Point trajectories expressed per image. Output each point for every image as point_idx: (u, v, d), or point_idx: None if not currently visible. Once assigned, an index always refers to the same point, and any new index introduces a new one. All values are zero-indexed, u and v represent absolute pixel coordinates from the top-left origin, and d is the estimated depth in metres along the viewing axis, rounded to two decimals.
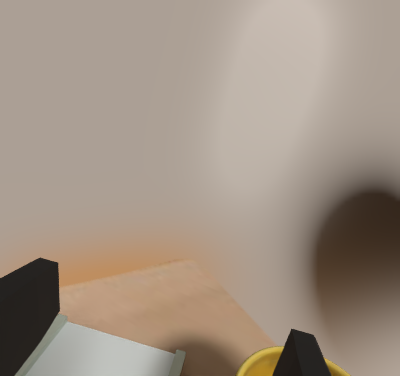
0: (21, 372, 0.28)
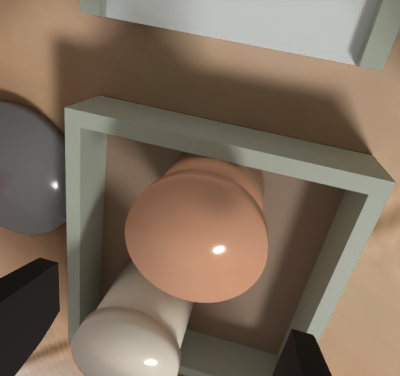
0: None
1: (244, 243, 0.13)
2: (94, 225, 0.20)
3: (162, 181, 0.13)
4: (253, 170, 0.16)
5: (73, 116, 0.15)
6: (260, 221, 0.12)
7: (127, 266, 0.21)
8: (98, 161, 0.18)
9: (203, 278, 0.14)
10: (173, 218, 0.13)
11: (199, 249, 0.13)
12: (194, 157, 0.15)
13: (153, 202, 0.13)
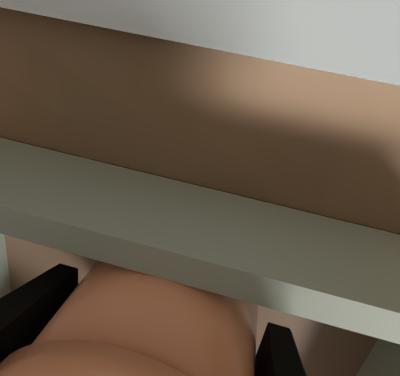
0: None
1: None
2: None
3: None
4: None
5: None
6: None
7: None
8: None
9: None
10: None
11: None
12: (121, 269, 0.08)
13: None
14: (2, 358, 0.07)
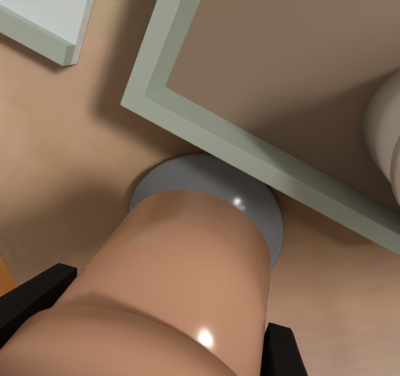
0: (26, 26, 0.15)
1: None
2: (285, 159, 0.15)
3: (28, 342, 0.06)
4: (248, 256, 0.09)
5: (130, 98, 0.13)
6: None
7: (367, 146, 0.14)
8: (206, 115, 0.15)
9: None
10: None
11: None
12: (134, 241, 0.08)
13: None
14: None
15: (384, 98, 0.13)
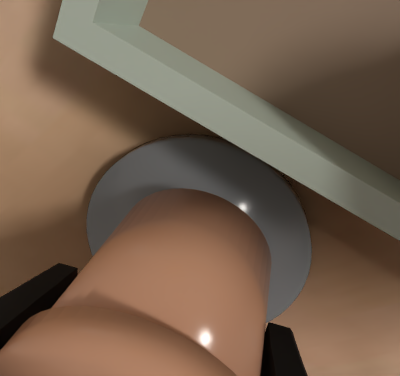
0: None
1: None
2: (328, 146, 0.09)
3: (28, 344, 0.06)
4: (249, 256, 0.09)
5: (69, 25, 0.08)
6: None
7: None
8: (202, 69, 0.09)
9: None
10: None
11: None
12: (135, 241, 0.08)
13: None
14: None
15: None
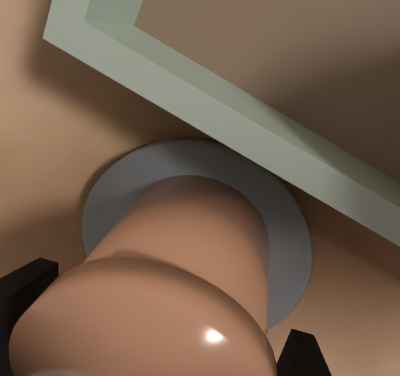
0: None
1: None
2: (330, 150, 0.09)
3: (66, 287, 0.06)
4: (251, 230, 0.10)
5: (60, 25, 0.07)
6: None
7: None
8: (199, 71, 0.09)
9: None
10: (92, 354, 0.07)
11: None
12: (150, 214, 0.09)
13: (51, 324, 0.06)
14: None
15: None
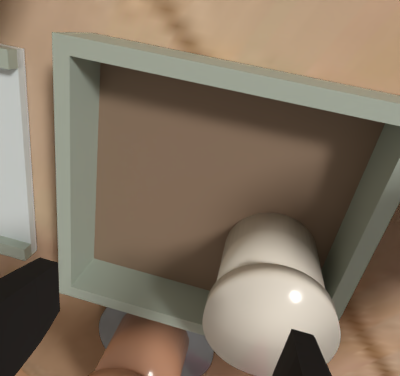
0: None
1: None
2: (181, 296, 0.21)
3: None
4: (164, 333, 0.22)
5: (63, 288, 0.20)
6: None
7: None
8: (122, 276, 0.22)
9: None
10: None
11: None
12: (117, 341, 0.21)
13: None
14: None
15: (222, 255, 0.19)
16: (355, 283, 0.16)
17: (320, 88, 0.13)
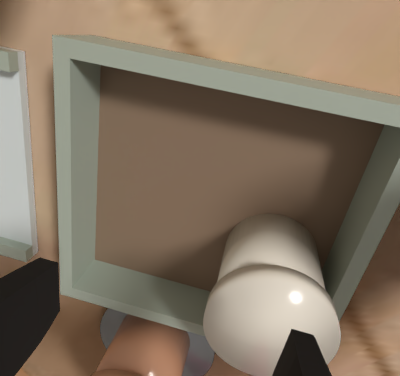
0: None
1: None
2: (182, 297, 0.21)
3: None
4: (165, 334, 0.22)
5: (65, 289, 0.20)
6: None
7: None
8: (123, 277, 0.22)
9: None
10: None
11: None
12: (118, 341, 0.21)
13: None
14: None
15: None
16: (356, 284, 0.16)
17: (319, 90, 0.13)
